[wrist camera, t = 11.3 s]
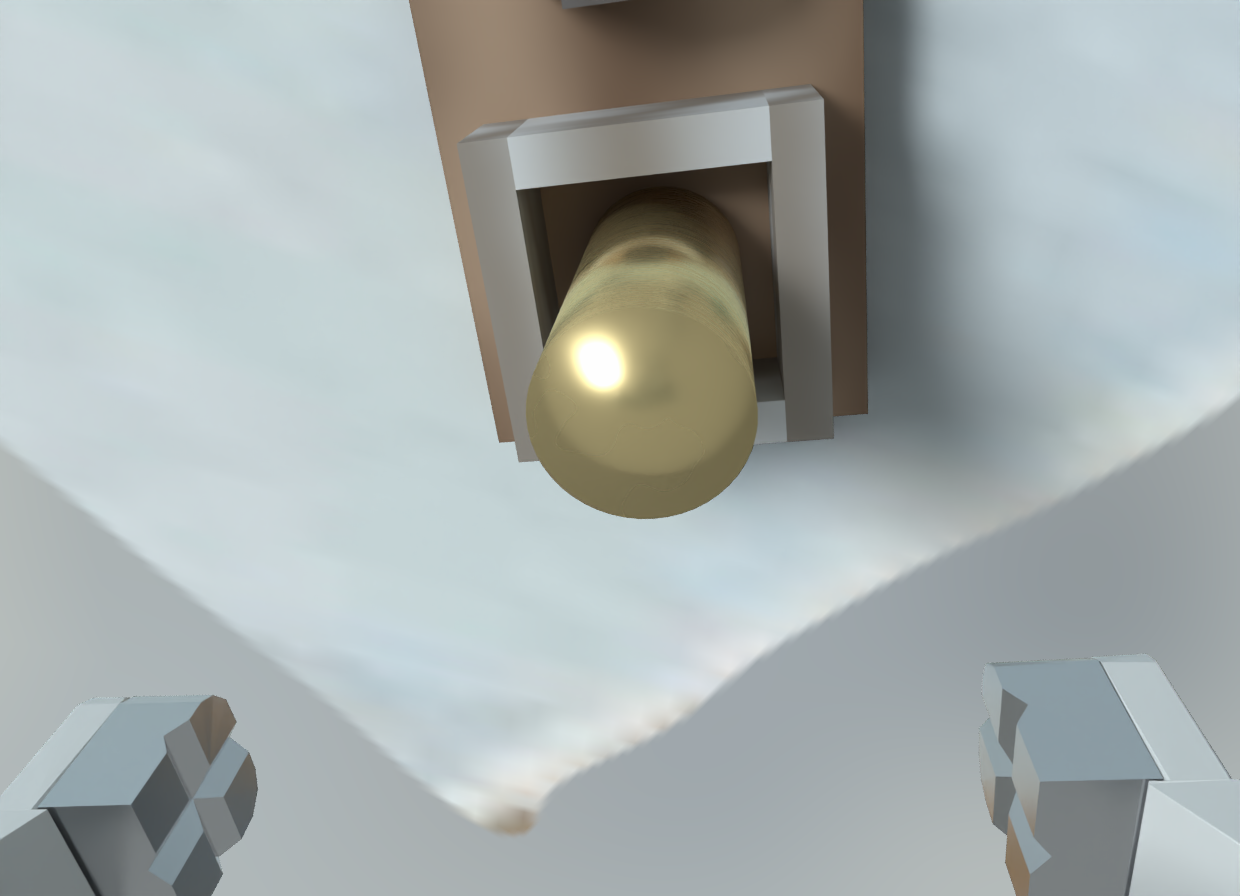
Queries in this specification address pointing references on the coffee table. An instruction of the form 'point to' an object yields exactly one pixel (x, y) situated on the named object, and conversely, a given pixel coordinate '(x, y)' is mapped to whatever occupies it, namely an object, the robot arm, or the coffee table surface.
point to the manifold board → (660, 171)
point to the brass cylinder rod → (649, 362)
